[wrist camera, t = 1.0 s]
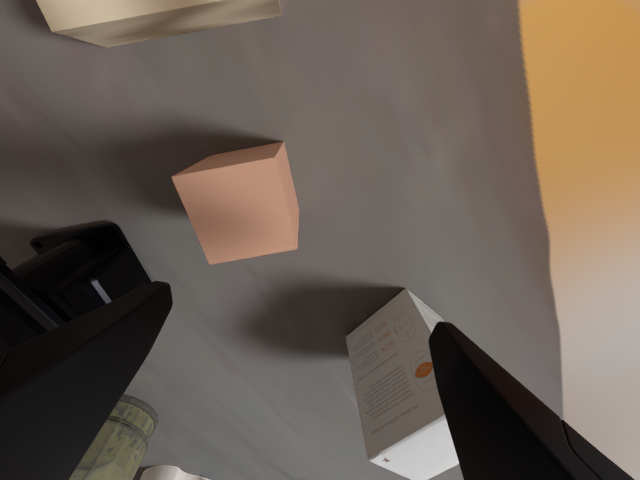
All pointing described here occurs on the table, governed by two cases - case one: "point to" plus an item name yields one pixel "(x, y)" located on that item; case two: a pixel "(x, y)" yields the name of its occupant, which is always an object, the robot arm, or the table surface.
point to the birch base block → (148, 17)
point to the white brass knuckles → (167, 474)
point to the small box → (400, 390)
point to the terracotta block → (241, 203)
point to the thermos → (119, 443)
